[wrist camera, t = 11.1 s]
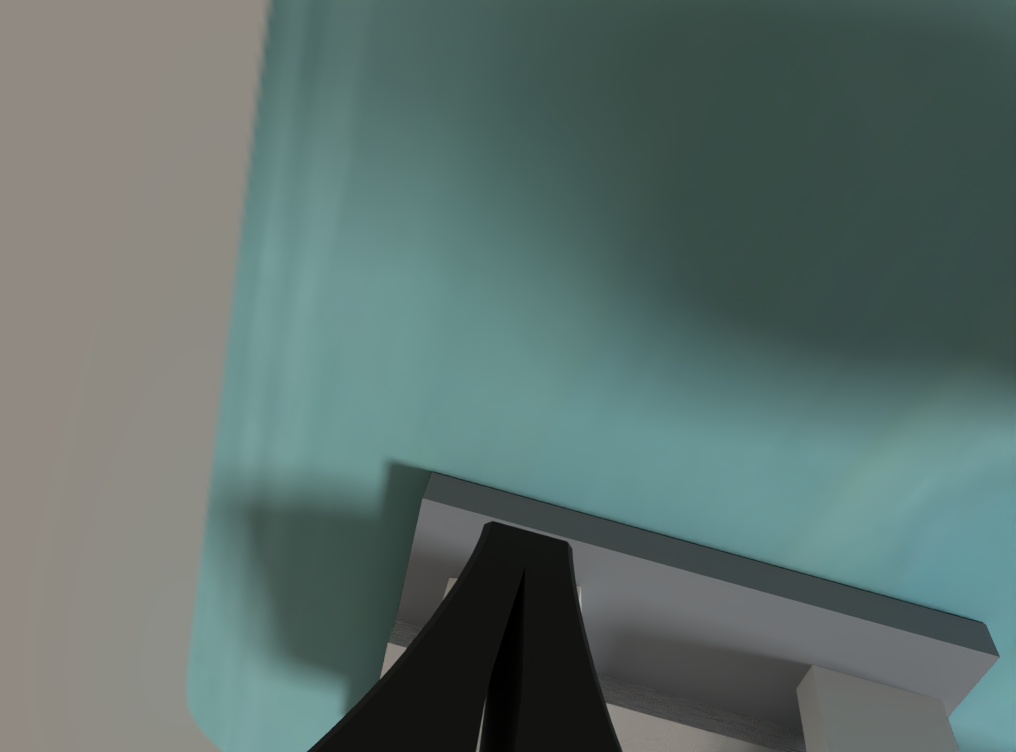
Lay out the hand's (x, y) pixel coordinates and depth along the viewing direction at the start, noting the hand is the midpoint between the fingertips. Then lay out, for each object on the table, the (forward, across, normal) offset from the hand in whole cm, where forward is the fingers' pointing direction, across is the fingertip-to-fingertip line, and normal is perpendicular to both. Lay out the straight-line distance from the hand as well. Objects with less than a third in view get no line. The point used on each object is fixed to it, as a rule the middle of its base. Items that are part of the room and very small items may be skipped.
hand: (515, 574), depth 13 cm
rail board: (+9, -6, +13) cm, 17 cm away
